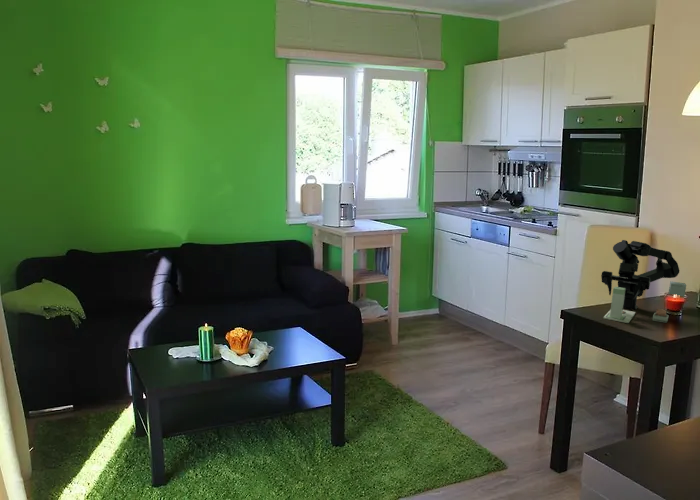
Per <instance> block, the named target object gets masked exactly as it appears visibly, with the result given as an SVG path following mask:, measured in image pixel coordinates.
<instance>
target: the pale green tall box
mask: <svg viewBox="0 0 700 500" xmlns="http://www.w3.org/2000/svg"><path fill="white" fill-rule="evenodd" d="M625 289H626V288H621V287H618V286H614V287H612V296H611V304H610V309H611V311H610V310H609V311H610V317H614V318H619V319H620V318H621V317H622V312H623V310H624V308H623V304H624V297H625Z"/></svg>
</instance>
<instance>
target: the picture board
mask: <svg viewBox="0 0 700 500" xmlns="http://www.w3.org/2000/svg"><path fill="white" fill-rule="evenodd" d="M610 311H611V308H610V309H609V310H608V312H607V313H606V314H605V315H604V316H603V317H602V318H603V320H609V321H615V322H618V323H619V322H620V323H625V324H629V323H630V321H631V320H632V319H633V318H634V316H635V315H636V311H634V310H633V311H631V310H628V309H623V312H622V317H621V318H620V319H619V318H614V317H610Z"/></svg>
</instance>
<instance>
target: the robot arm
mask: <svg viewBox="0 0 700 500" xmlns="http://www.w3.org/2000/svg"><path fill="white" fill-rule="evenodd" d="M612 250H613V252H614V254H615V255H616V256H617V258H619V260H621V261H622V262H620V264H619V269H618V273H617V274H618V275H613V272H612V271H608V270H603V271H602V272H601V276H600V277H601V278H600V279H601V282H602V284H604V285H605V286H607V289H608V295H609V296H611V294H612V290H613V281H615V282H616V281H617V287H621V288H626V289H625V297H624V304H623V309H625V310H633V311H636V310H637V308H638V305H637V299H638V298H639V297H641V296H642V297H643V295H644V291H646V290H650V287H651V283H653V282H655V281H659V280H661V279H674V278H676V277H678V275H680V266H679V264H678V261H676V259H675V258H674V257H673V255H672V252H670V251H668V250H663V249H658V248H655V247H653V246H651V245H649V243H645V242H641V241H636V240H632V241H631V242H630V243H629V242H628V241H627V240H626V239H622V240H621V241H619V242H616V243H615V244H613V246H612ZM638 256H639V257H648V256H649V257H653V258H657V260H656V263H655V265H656V268H654V269H651V270H648V271H645V272H643V273H640V274H635V273H636V272H638V270H639V269H638V268H639V264H640V261H639V258H638ZM663 260H664V261H666V262H664V261H663Z"/></svg>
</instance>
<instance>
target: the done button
mask: <svg viewBox="0 0 700 500" xmlns="http://www.w3.org/2000/svg"><path fill="white" fill-rule="evenodd" d="M655 313H656V314H657V315H660V316H666V315H667V309H663V308H657V309H656V312H655Z"/></svg>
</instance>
